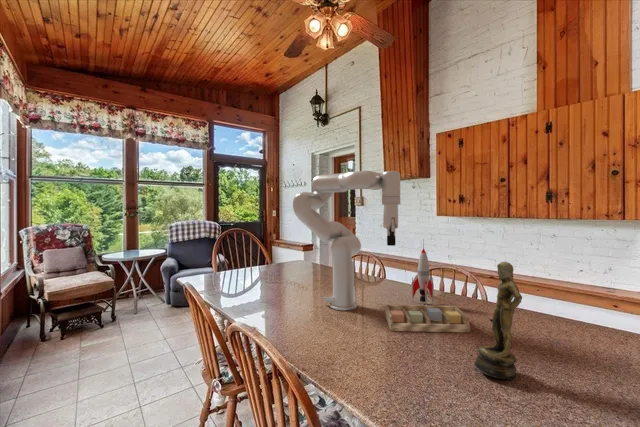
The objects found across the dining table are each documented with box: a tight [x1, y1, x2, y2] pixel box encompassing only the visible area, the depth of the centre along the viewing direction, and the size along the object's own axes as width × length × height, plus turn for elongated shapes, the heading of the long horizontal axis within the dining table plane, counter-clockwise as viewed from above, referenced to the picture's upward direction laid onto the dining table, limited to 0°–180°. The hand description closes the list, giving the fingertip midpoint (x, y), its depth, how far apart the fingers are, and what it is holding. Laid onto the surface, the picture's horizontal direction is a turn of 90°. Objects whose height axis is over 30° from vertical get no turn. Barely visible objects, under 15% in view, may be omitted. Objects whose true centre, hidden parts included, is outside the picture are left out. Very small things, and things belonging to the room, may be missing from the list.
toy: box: [411, 239, 434, 306], centre depth 141 cm, size 10×9×30 cm
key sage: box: [408, 311, 423, 323], centre depth 118 cm, size 4×4×3 cm
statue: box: [474, 261, 523, 380], centre depth 82 cm, size 11×11×30 cm
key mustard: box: [445, 311, 461, 323], centre depth 117 cm, size 4×4×3 cm
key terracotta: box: [390, 311, 404, 323], centre depth 119 cm, size 4×4×3 cm
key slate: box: [427, 308, 442, 320], centre depth 118 cm, size 4×4×3 cm
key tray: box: [384, 304, 471, 333], centre depth 118 cm, size 28×14×5 cm, turn 86°
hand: (391, 245), depth 128 cm, fingers closed
